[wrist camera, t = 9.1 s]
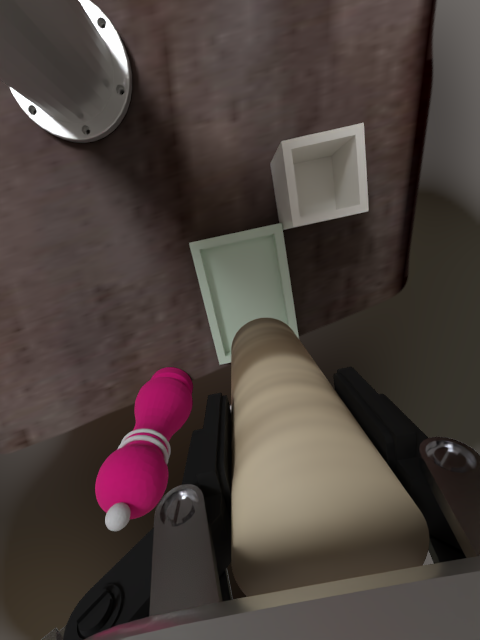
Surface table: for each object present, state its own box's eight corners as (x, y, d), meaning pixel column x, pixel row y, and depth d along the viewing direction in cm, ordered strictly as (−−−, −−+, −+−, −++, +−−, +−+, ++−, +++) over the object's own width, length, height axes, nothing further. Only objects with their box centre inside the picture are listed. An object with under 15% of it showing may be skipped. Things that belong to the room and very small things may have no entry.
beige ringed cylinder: (224, 325, 17) (210, 501, 5) (293, 311, 17) (429, 460, 5) (238, 385, 18) (251, 633, 7) (302, 372, 18) (429, 602, 6)
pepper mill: (198, 365, 38) (164, 493, 18) (194, 408, 40) (161, 564, 20) (147, 361, 37) (58, 487, 18) (146, 405, 39) (65, 560, 20)
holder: (270, 163, 31) (281, 141, 24) (334, 149, 30) (363, 122, 24) (280, 230, 33) (293, 227, 26) (340, 217, 33) (368, 211, 26)
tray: (192, 242, 33) (188, 242, 30) (277, 224, 32) (281, 222, 30) (220, 356, 37) (219, 364, 35) (295, 341, 37) (300, 348, 35)
